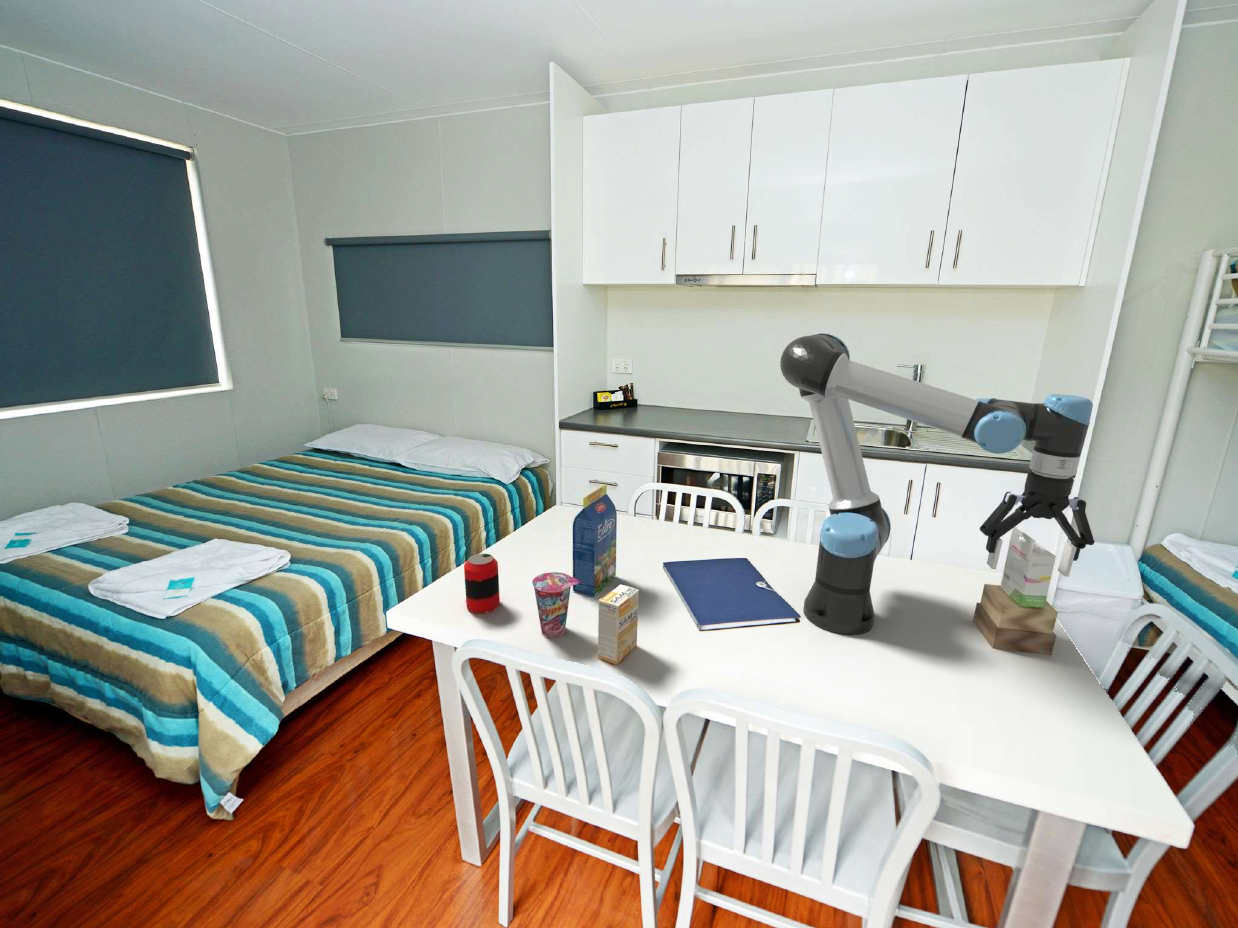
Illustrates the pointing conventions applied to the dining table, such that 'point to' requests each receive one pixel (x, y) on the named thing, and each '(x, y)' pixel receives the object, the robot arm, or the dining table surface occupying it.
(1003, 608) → the top slab
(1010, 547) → the ink box
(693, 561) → the dining table surface
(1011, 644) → the base slab
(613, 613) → the supplement box
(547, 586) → the cup
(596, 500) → the blue food package
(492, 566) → the soda can
